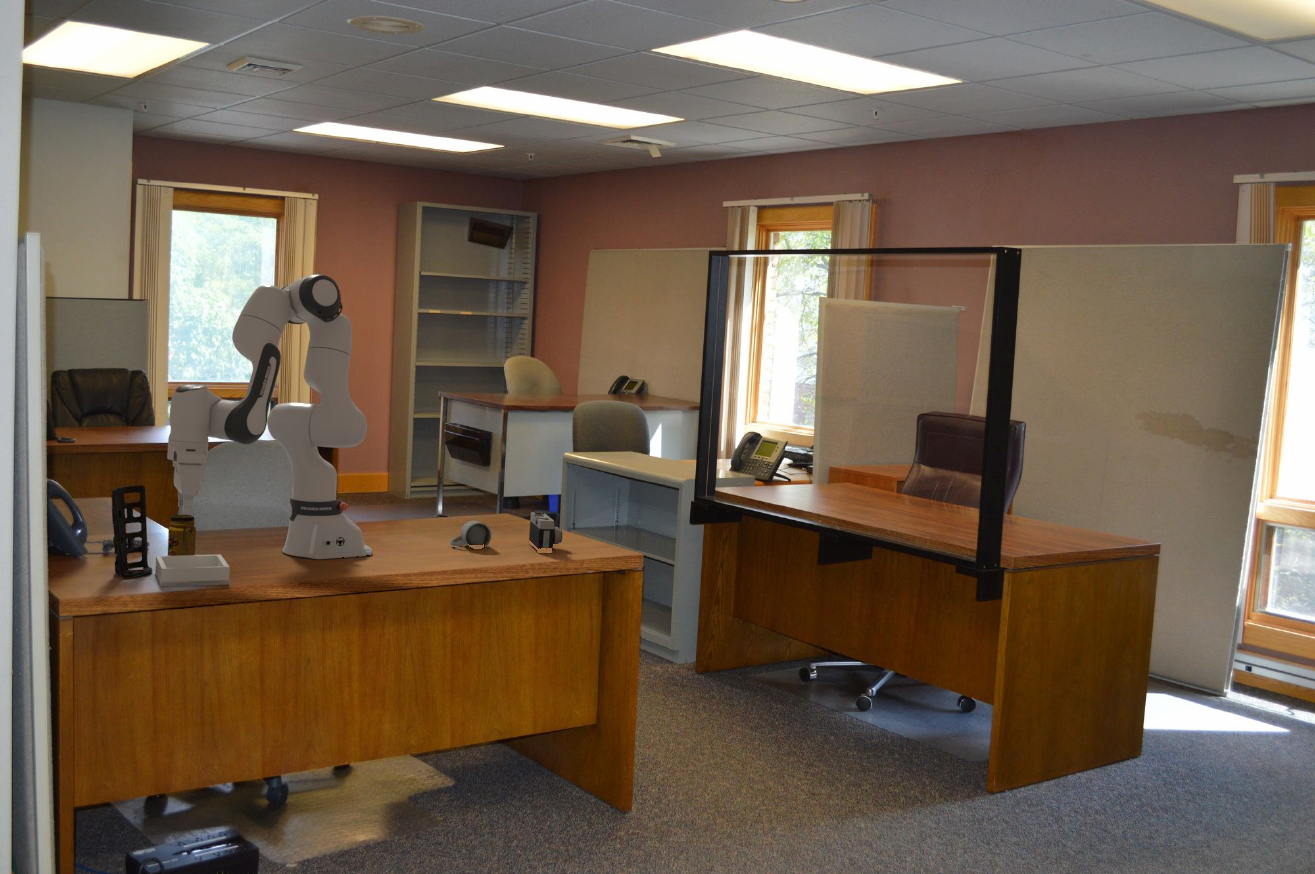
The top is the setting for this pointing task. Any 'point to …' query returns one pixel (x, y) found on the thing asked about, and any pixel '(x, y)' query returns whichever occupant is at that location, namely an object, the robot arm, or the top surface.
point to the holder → (122, 536)
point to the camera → (543, 531)
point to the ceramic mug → (473, 534)
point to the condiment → (181, 535)
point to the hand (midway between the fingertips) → (184, 510)
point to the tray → (192, 570)
